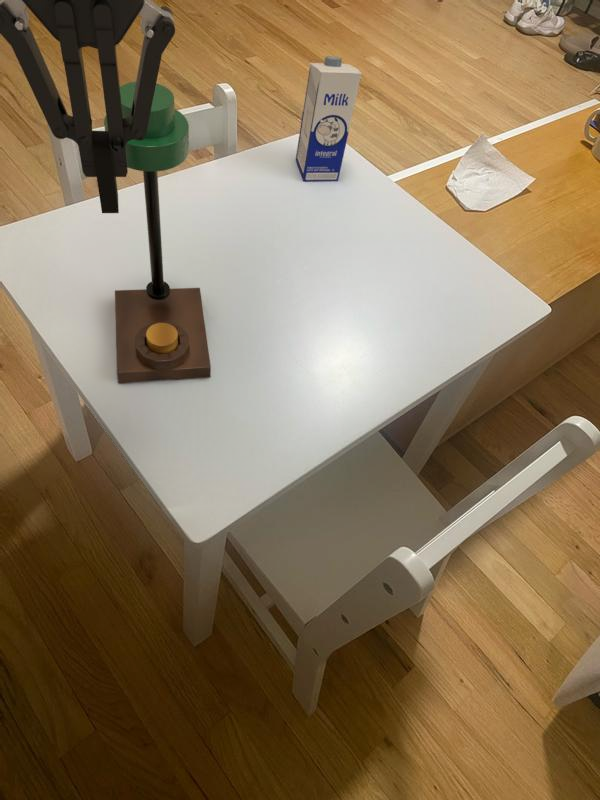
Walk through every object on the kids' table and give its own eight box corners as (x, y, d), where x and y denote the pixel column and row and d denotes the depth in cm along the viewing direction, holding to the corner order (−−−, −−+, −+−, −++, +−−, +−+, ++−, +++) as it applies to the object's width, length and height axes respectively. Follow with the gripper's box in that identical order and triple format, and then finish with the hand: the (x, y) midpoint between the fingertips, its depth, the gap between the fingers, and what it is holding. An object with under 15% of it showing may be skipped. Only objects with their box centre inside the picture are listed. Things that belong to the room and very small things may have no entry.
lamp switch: (147, 355, 78) (146, 346, 76) (146, 332, 80) (145, 323, 78) (179, 353, 79) (178, 344, 77) (176, 330, 81) (176, 321, 79)
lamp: (125, 308, 81) (100, 117, 60) (123, 263, 86) (100, 72, 65) (192, 306, 83) (192, 120, 62) (187, 262, 88) (184, 76, 67)
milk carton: (302, 181, 111) (320, 70, 95) (294, 159, 114) (310, 50, 98) (338, 181, 112) (363, 72, 96) (330, 159, 116) (351, 51, 100)
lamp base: (118, 383, 79) (115, 364, 76) (116, 301, 87) (113, 280, 84) (210, 377, 82) (211, 358, 78) (199, 298, 90) (199, 278, 87)
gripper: (170, -122, 41) (177, 180, 60) (-40, -147, 38) (38, 179, 57) (178, -82, 37) (183, 229, 56) (-56, -107, 34) (33, 230, 53)
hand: (110, 203), depth 56 cm, fingers closed
